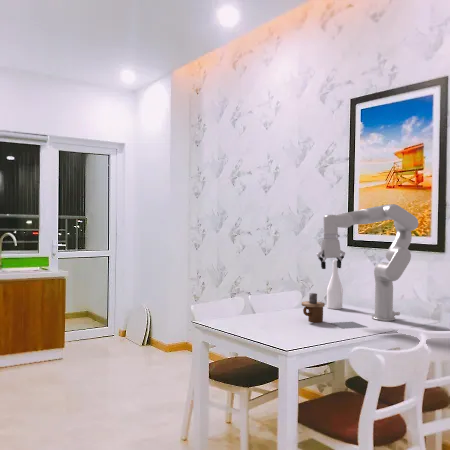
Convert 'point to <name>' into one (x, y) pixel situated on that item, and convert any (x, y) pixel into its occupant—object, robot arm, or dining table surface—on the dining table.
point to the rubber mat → (348, 325)
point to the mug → (314, 314)
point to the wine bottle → (334, 290)
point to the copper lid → (313, 301)
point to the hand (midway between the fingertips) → (331, 268)
